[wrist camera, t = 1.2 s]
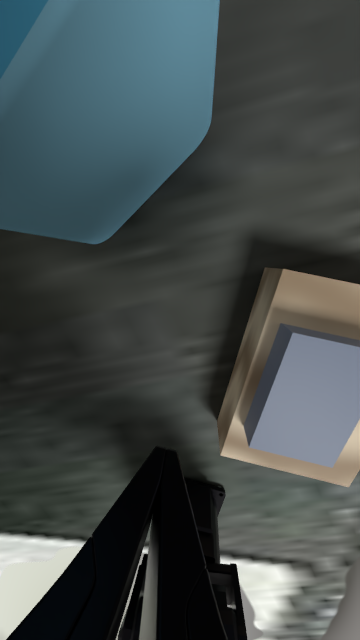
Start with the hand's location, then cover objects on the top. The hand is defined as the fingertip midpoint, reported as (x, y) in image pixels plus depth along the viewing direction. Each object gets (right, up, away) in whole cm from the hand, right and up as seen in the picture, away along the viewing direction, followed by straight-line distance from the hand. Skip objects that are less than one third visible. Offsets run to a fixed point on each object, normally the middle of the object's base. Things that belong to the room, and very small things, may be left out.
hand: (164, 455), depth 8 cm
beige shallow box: (+11, +1, +11) cm, 16 cm away
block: (+10, 0, +7) cm, 12 cm away
